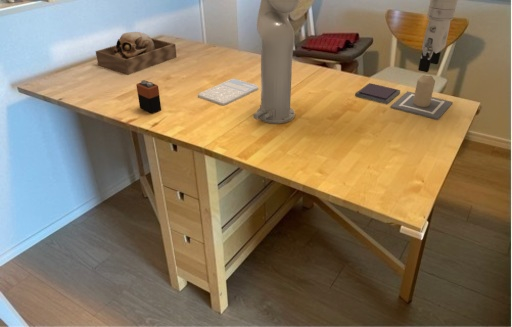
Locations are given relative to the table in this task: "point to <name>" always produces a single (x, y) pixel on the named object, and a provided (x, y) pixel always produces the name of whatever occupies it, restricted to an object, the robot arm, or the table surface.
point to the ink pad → (377, 93)
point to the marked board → (432, 111)
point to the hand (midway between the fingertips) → (428, 67)
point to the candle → (423, 91)
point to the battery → (148, 96)
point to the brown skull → (133, 45)
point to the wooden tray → (136, 58)
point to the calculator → (228, 92)
